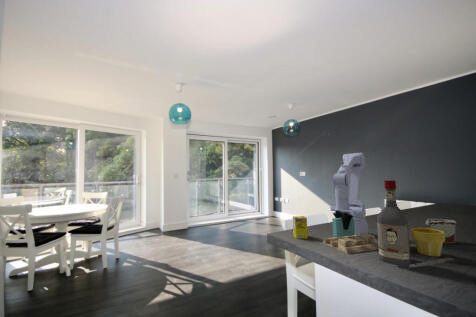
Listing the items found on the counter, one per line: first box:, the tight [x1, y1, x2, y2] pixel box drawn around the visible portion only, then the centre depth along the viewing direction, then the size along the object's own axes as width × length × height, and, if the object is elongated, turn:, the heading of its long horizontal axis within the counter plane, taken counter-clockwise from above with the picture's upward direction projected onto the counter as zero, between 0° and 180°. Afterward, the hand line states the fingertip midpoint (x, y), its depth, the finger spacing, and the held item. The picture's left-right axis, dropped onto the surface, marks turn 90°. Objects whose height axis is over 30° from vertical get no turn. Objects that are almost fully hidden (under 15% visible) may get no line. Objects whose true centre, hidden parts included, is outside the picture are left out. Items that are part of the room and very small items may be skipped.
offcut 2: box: [351, 237, 365, 246], centre depth 99 cm, size 5×4×4 cm
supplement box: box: [292, 215, 308, 240], centre depth 117 cm, size 6×6×11 cm
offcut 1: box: [337, 238, 354, 252], centre depth 97 cm, size 4×4×4 cm
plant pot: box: [410, 227, 445, 257], centre depth 91 cm, size 10×10×10 cm
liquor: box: [376, 179, 412, 269], centre depth 85 cm, size 9×9×30 cm
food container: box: [425, 218, 458, 244], centre depth 110 cm, size 12×6×10 cm, turn 84°
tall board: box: [331, 217, 355, 238], centre depth 106 cm, size 10×2×8 cm, turn 107°
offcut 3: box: [359, 233, 376, 245], centre depth 100 cm, size 4×4×4 cm
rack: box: [321, 235, 379, 255], centre depth 102 cm, size 18×16×3 cm
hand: (343, 228), depth 106 cm, fingers closed on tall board, 2 cm apart
